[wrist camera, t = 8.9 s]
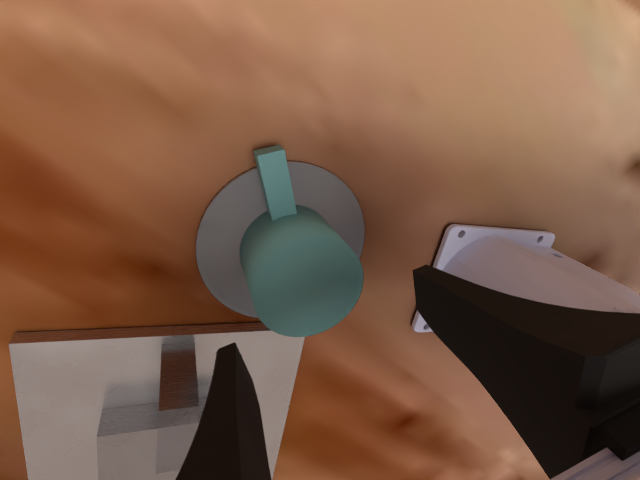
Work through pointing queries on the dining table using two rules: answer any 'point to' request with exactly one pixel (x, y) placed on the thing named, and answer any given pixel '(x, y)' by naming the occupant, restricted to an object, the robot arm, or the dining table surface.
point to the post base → (136, 395)
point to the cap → (296, 259)
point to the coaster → (248, 203)
